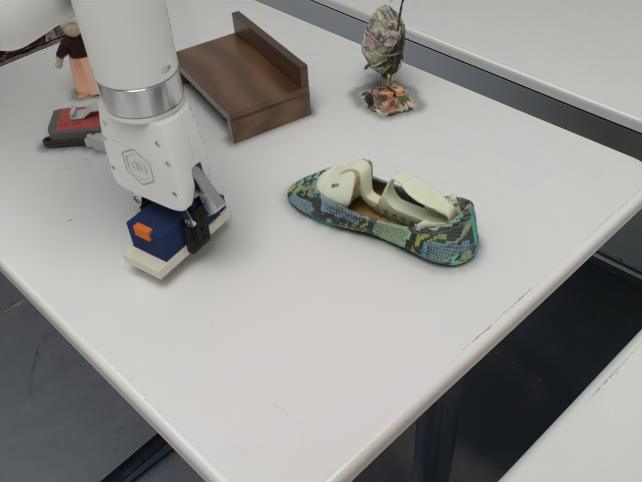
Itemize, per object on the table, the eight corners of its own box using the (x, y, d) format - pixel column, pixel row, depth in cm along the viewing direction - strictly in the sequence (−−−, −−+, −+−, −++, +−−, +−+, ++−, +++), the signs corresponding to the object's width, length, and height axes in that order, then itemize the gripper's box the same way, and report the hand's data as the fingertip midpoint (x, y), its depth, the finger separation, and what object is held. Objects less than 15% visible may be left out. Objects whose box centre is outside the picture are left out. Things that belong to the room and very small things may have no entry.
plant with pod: (401, 76, 103) (406, -71, 88) (424, 116, 95) (433, -37, 80) (347, 84, 102) (343, -62, 87) (366, 125, 94) (366, -27, 79)
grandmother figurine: (76, 109, 101) (46, 23, 92) (65, 99, 103) (34, 14, 94) (123, 90, 104) (98, 5, 95) (111, 80, 106) (86, -4, 97)
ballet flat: (310, 176, 88) (306, 119, 82) (493, 234, 79) (503, 175, 73) (273, 216, 83) (265, 159, 77) (462, 282, 74) (470, 224, 68)
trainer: (160, 279, 73) (150, 245, 69) (125, 262, 75) (113, 227, 71) (231, 216, 79) (225, 181, 76) (196, 201, 81) (189, 167, 78)
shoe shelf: (234, 148, 92) (225, 94, 86) (175, 85, 104) (163, 33, 98) (311, 119, 96) (307, 64, 90) (245, 61, 108) (238, 10, 102)
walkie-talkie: (42, 162, 93) (191, 148, 93) (30, 133, 89) (184, 120, 90) (54, 125, 98) (194, 113, 99) (43, 97, 95) (188, 85, 95)
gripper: (46, 81, 64) (100, 229, 78) (185, 135, 58) (217, 286, 72) (104, 47, 68) (146, 193, 82) (240, 93, 62) (261, 244, 76)
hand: (179, 235), depth 77 cm, fingers closed on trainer, 5 cm apart
